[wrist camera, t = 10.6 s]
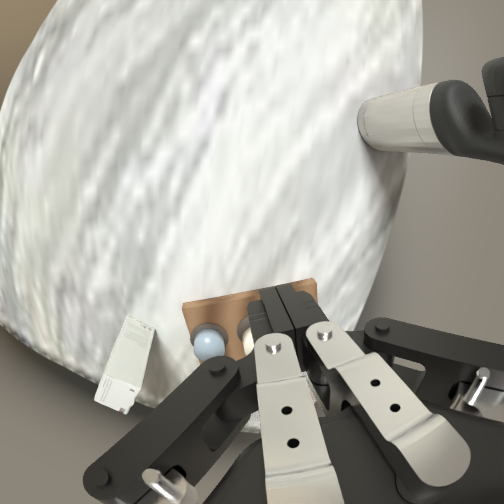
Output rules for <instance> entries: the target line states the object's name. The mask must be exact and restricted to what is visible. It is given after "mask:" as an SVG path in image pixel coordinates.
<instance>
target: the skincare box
mask: <svg viewBox="0 0 504 504" xmlns="http://www.w3.org/2000/svg"><path fill="white" fill-rule="evenodd" d="M154 332H155V329H154V328H152V327H150V326H147V325H145V324H144V323H142V322H140V321H138V320H136V319H135V318H133V317H131V316H129V315H127V316H126V319H125V321H124V324H123V326H122V328H121V331H120V333H119V336H118V338H117V340H116V341H115V343H114V346H113V348H112V351H111V354H110V356H109V359H108V362H107V364H106V367H105V370H104V372H103V375H102V378H101V381H100V383H99V387H98V389H97V393H96V395H95V399H94V400H95V401H97V402H99V403H101V404H103V405H106V406H108V407H110V408H112V409H115V410H117V411H120V412H122V413H124V414H127V413H128V411H129V409H130V407H131V406H132V405H133V404H134V400H135V398H136V397H137V395H138V394H139V393H140V391H141V389H142V385H143V380H144V375H145V371H146V366H147V362H148V358H149V353H150V349H151V345H152V340H153V336H154Z"/></svg>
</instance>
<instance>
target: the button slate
mask: <svg viewBox="0 0 504 504" xmlns="http://www.w3.org/2000/svg"><path fill="white" fill-rule="evenodd" d="M194 354H195V355H196V357H197V358H198V359H200V360H202V361H206V360H207V359H209V358H212V357H215V356H224V354H225V344H224V336H223V334H222V333H221V332H220V331H219V330H217V329H214V328H203V329H201V330H199V331H198V332H197V333H196V335H195V338H194Z"/></svg>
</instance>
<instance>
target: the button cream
mask: <svg viewBox="0 0 504 504" xmlns="http://www.w3.org/2000/svg"><path fill="white" fill-rule="evenodd" d="M242 340H243V346H244V351H245V354H246V356H247V355H248V354H249V353H250V352H251V351H252V350H253V348H254V343H253V338H252V334H251V329H250V328H248V329H247V330H246V331H245V332H244V334H243V337H242Z"/></svg>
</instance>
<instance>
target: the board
mask: <svg viewBox="0 0 504 504" xmlns="http://www.w3.org/2000/svg"><path fill="white" fill-rule="evenodd" d="M291 284H292V286H293V288H294V289H295V291H296V292H298V291H303V290H304V291H305V292H307V293H309V294H311V295H312V297H313V298H314V299H315V302H317V283H316V282H315V280H314V279H313V278H310V279H305V280H301V281H296V282H291ZM274 287H275V286H274ZM256 300H260V297H259V289H257V290H252V291H247V292H242V293H237V294H231V295H226V296H220V297H215V298H209V299H204V300H198V301H192V302H187V303H183V306H182V311H183V315H184V318H185V321H186V324H187V327H188V330H189V333H190V340H191V343H192V345H193V347H194V338H195V335H196V333H197V332H198V331H199V330H201V329H203V328H214V329H217V330H219V331H220V332H221V333H222V334H223V336H224V344H225V354H224V356H228V357H231V358H233V359H234V360H235V361H237V360H239V359H242V358H244V357H245V356H246V354H245V351H244V346H243V340H242V337H243V334H244V332H245V331H246V330H247V329H248V328H250V324H249V319H248V314H247V306H248V304H249V302H251V301H256ZM317 304H318V302H317ZM199 362H200V364H202V363H203V362H204V361H202V360H200V359H199Z"/></svg>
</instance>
